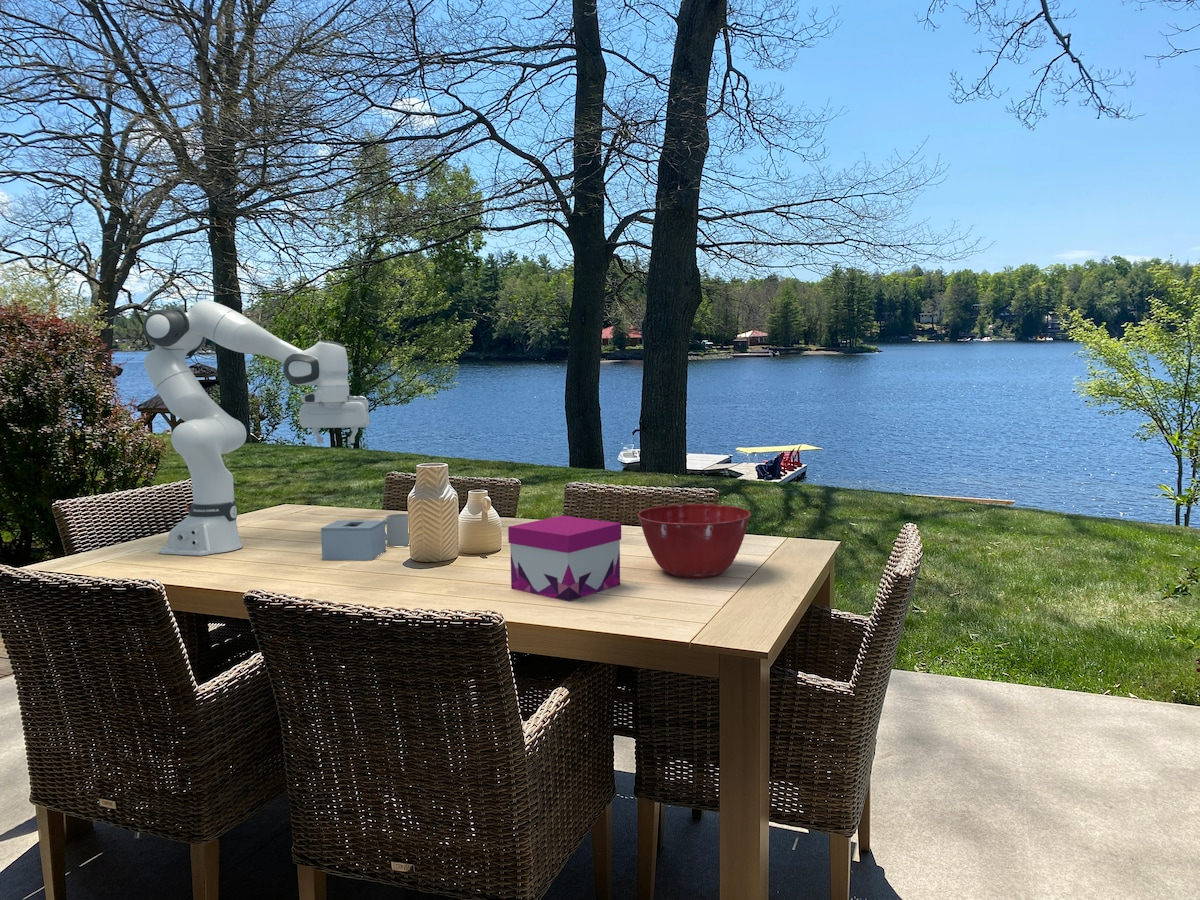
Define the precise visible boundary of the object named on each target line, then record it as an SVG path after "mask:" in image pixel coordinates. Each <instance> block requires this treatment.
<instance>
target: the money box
mask: <svg viewBox="0 0 1200 900" xmlns="http://www.w3.org/2000/svg"><path fill="white" fill-rule="evenodd" d="M385 532H386V525H385V521H383V520H336V521H334V522H331V523H329V524H327V525H325V526H323V527H321V528H320V536H321V537H320V538H321V557H322V558H321V559H322V561H373V560H375V559H376V558H378V557H379V556H381V555H382V554H384V553H385V552H386V551H387V550H386V549H387V548H386V547H387V546H386V544H387V543H386V542H387V541H386V540H385ZM384 551H385V552H384ZM383 552H384V553H383ZM381 553H382V554H381ZM380 554H381V555H380ZM378 555H379V556H378ZM377 556H378V557H377ZM375 557H376V558H375ZM374 558H375V559H374Z"/></svg>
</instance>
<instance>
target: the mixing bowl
mask: <svg viewBox="0 0 1200 900" xmlns="http://www.w3.org/2000/svg"><path fill="white" fill-rule="evenodd" d="M751 514H752V513H751V512H750V511H749V510H748V509H745V508H741V507H739V506H731V505H725V504H705V503H702V504H701V503H700V504H698V503H696V504H695V503H694V504H688V503H687V504H675V505H674V504H672V505H662V506H656V507H650V508H646V509H644V510H643V509H642V510H641V511H639V512H638V513H637V517H638V518H639V521H640V526H641V528H642V533H643V535H644V539H645V542H646V544H647V546H648V548H649V550H650V553H651V554H652V556H653V559H654V560H655V563H656V564H657V565H658V566H659V567H660V568H661V569H662V570H664V571H665V572H667V573H668V574H669V575H671V576H674V577H678V578H683V579H706V578H713V577H716V576H719V575H721V574H722V573H723V572H724V571H726V570H728V568H729V567H731V565H732V564H733V562H734V560H735V559H736V558H737V557H736V556H737V555H738V553H739V550H740V549H741V545H742V544H743V541H744V538H745V536H746V535H745V534H746V531H747V527H748V523H749V519H750V518H751V516H752V515H751Z"/></svg>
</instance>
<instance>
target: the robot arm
mask: <svg viewBox="0 0 1200 900" xmlns="http://www.w3.org/2000/svg"><path fill="white" fill-rule="evenodd" d="M142 323H143V324H142V329H143V330H142V331H143V333H144V335H145V337H146V339H148V340H149V341H150V342H151V343H152V344H153V345H155V347H154V349H151V350H150V351H149V352H148V353H146V355H145V357H144V359H143V365H144V368H145V370H146V373H147V375H148V377H149V380H150V382H151V383H152V385H153V387H154V389H155V391H156V392H157V393H158V395H159V397H160V398H161V400H162V402H163V403H164V404H165V405H166V408H167V410H168V411H169V412H170V413H171V414H172V415H174V416H175V417H176V418H179V419H181V420H182V421H184V422H182V423H180V424H178V425H177V426H175V428H174V429H173V430H172V433H171V437H170V439H171V446H172V447H173V449H174V450H175V452H176V453H177V454H179V455H180V456H181V457H182V458H183V460H184V462H185V464H186V467H187V468H188V469H187V470H188V472H189V475H190V479H191V488H192V499H193V502H192V503H191V504H189V505H188V506H185V507H184V508H185V509H184V511H185V512H186V511H188V514H187V516H186V517H185V518H183V519H182V520H181V521H179V523H177V525H175V526H174V527H173V528H171V530H169V532H168V537H167V545H166V546H163V547H161V548H159V554H162V555H178V556H181V555H183V556H184V555H185V556H201V557H202V556H206V555H211V554H212V555H213V554H220V553H227V552H233V551H236V550H239V549H241V548H243V542H242V540H241V537H240V534H239V530H238V524H237V517H238V514H237V513H238V512H237V511H238V509H237V501H236V500H235V487H234V476H233V473H232V472H231V471H230V470H228V468H227V467H226V466H225V463H224V460H223V457H222V455H223V454H228V453H229V454H230V453H231V452H235V451H236V450H238V449H239V448H241V447H242V446H243V445H245V443H246V440H247V428H246V427H245V425H244V424H243V423H242V421H239V420H238V419H237V418H234V417H232V416H231V415H229V413H227V412H226V411H225V410H224V409H222V407H220V406H219V404H217V403H216V401H214V400H213V399H212V398H211V397H210V396H209V394H208V393H207V392H206V391H205V389H204V387H203V386H202V384H201V383H200V381H199V379H197V377H196V375H195V374H194V373H193V371H192V370H191V368H190V366H189V365H188V363H187V361H186V360H189V359H191V358H192V357H193V356H194V355H195V354H196V353H197V352H198V351H200V350H201V349H202V348H203V347H204V346H205V344H206V342H207V339H208V340H210V341H212V342H213V343H215V344H217V345H219V346H221V347H223V348H224V349H228V350H230V351H233V352H237V353H242V354H253V355H259V356H265V357H268V358H270V359H274V360H276V361H277V362H280V363H282V364H283V365H282V366H283V368H282V370H283V375H284V377H285V378H286V380H287V381H288V382H289V383H291V384H294V385H297V386H315V387H317V390H315V391H312V392H311V393H307V394H303V395H302V396H301V403H302V404H301V405H300V407H299V426H300V427H301V428H303V429H311V432H312V434H313V435H314V436H315V438H316V442H315V443H316V444H323V443H324V437H323V436H321V435H320V433H319V432H320V428H321V429H323V428H324V429H326V428H327V429H331V428H332V429H333V428H335V429H336V428H340V429H341V428H343V429H344V428H347V429H348V428H350V431H351V434H350V436H348V437H347V443H348V444H354V443H355V440H356V438H355V437H356V435H357V434H358V432H359V428H367V427H369V426H370V424H371V422H370V413H369V406H370V403H369V400H368V398H366V397H365V396H363V395H358V396H357V395H350V384H349V381H348V374H349V363H348V362H349V361H348V354H347V353H348V352H347V349H346V347H345V346H344V345H343V344H342V343H341V342H337V341H331V340H320V341H317V342H316V343H315V344H314V345H313V346H311V347H308V348H307V349H304V350H303V349H302V348H299V347H297V346H295V345H294V344H292V343H289V342H287V341H285V340H283V339H281V338H279V337H277V336H276V335H274V334H272V333H271V332H269V331H268V330H266V329H265V328H264V327H262V326H260V325H259V324H257V323H255V322H254V321H252V320H251V319H249V318H248V317H246V316H245V315H244V314H241V313H240V312H238V311H236V310H234V309H232V308H230V307H228V306H226V305H224V304H221V303H218V302H216V301H212V300H208V299H201V300H199V301H197V302H196V303H194V304H193V305H192V306H191V308H190V309H189V310H188V311H187V312H185V311H183V310H182V309H177V308H176V309H160V310H159V309H158V310H154V311H152V312H150V313H149V314H148V315H146V317H145V318H144V320H143V322H142Z"/></svg>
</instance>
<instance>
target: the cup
mask: <svg viewBox="0 0 1200 900" xmlns="http://www.w3.org/2000/svg"><path fill="white" fill-rule="evenodd" d="M408 514H409V513H394V514H388V515H386V518H384V519H382V521H385V526H386V531H385V541H386V542H387V543H386V544H387V546H388V545H389V546H406V547H409V546H408V544H409V533H408ZM389 546H388V547H389Z"/></svg>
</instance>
